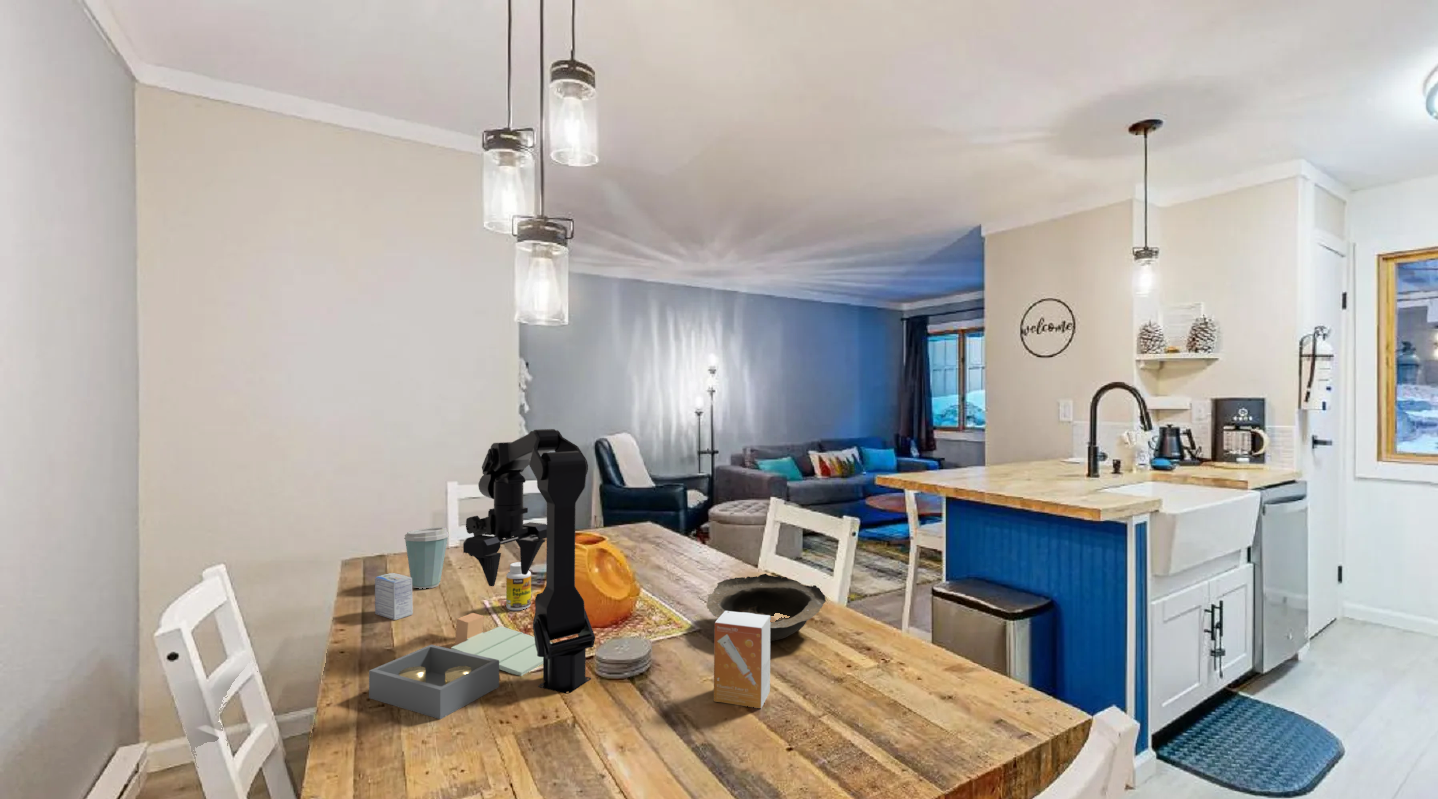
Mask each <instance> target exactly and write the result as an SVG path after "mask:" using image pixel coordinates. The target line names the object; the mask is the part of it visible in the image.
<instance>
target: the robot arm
mask: <svg viewBox="0 0 1438 799" xmlns="http://www.w3.org/2000/svg"><path fill="white" fill-rule="evenodd" d="M528 466H529V468H530V469H531V471H532V473H533V474H534V477H535V479H536V486H537V489H538V491H539V493H540V494H541V495H542V497H543V499H544V500H545V503H546V523H540V522H533V521H532V522H531V521H530V522H525V523H524V514H527V513H528V512H529V510H528V507H524V483H526V478H525V477H524V476H523V475H522V473H523V472H524V471H525V470H526V468H527V467H528ZM481 470H482V476H481V477H480V478H479V482H478V490H479V492H480V494H481V495H483V496H484V497H487V498H489V499H493V507H492V508H489V510H488V514H487V516H486V517H483V518H480V517H479V516H478V515H472V516H470V517H467V518H466V520H465V529H466V533H467V534H473V536H471V537H466V539H465V540H464V541H463V547H462V548H463V549H462V550H463V551H462V553H464V554H468V555H469V557H474V559H476V560H477V561H478V562H479V564H480V566H481V569H482V572H483V574H484V576H485V579H486V581H487V584H488V586H489V587H495V585H496V581H497V576H498V571H499V567H500V561H501V558H502V557H501V556H502V552H499V550H500V549H501V545H504V544H508V543H512V542H515V543H516V544H517V545H518V547H519V552H520V553H519V554H520V555H519V556H520V562H521V572H522V574H523V575H526V574H527V573H528V571H530V568H532V565H533V563H534V561H535V558H536V556H537V554H538V552H539V550H540V548H541V547H542V545H543V543H546V566H545V568H546V572H545V573H546V574H545V575H546V580H545V587H544V588H543V590H542V592H540V593H537V594H536V596H535V598H534V602H535V603H534V604H535V606H534V607H535V610H534V617H533V621H532V630H533V637H534V638H535V646H536V650H537V656H538V657H543V664H542V666H543V669H542V671H543V672H542V680H543V681H544V682H541V683H540V684H538V688H541V689H546V690H550V691H553V692H556V693H562V694H565V695H566V694H567V695H568V694H571V693H573V692H574V691H575V690H577V689H580V687H582V686H583V685H585V684H586V683H588V682H590V680H592V677H589V676H586V671H587V670H586V668H587V666H586V654H587V653H586V649H589V648H590V649H591V648H594V647H595V640H596V635H595V633H594V631H593V627H592V625H591V624H592V623H591V622H590V620H589V617H588V614H587V610H586V608H585V606H586V605H585V600H584V599H583V596H582V595H581V594H580V592H579V591H578V589H577V588H576V508H577V507H576V505H577V503H578V502H577V501H578V500H579V498H580V496H581V495H582V493H583V491H584V490H585V488H586V482H587V481H586V480H587V475H588V470H589V464H588V460H587V458H586V456H584V454H583V452H582V450H581V448H580V447H579V446H578V445H577V444H575V443H573V442H571V440H568V439H567V438H565V437H564V436H563V435H562V434H561V432H560V431H559V430H558V429H557V430H556V429H555V428H548V429H546V428H544V429H543V428H542V429H541V428H540V429H533V430H530V432H529V433H528V434H526V435H523V436H521V437H520V438H518V439H516V440H513V441H507V442H504V441H503V442H493V443H491V446H490V448H488V450H487V452H486V454H485V458H484V460H483V462H482V466H481ZM574 635H577V636H576V637H571V636H574ZM566 637H567V639H563V640H560V641H556V642H555V641H554V640H558V639H562V638H566ZM568 637H571V638H568ZM552 641H554V642H552ZM550 642H552V643H550Z"/></svg>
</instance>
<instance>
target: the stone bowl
mask: <svg viewBox="0 0 1438 799" xmlns="http://www.w3.org/2000/svg"><path fill="white" fill-rule="evenodd" d="M713 590H714V592H711V593H709V594H708V596H707V603H706V608H707V610H708V611H709V612H710V613H711V615H712V616H713V617H716V618H719V617H720V616H721V615H722V614H723V613H724V612H725V611H732V612H745V613H753V614H760V615H770V616H774V614H775V613H780V614H783V615H787V616H790V617H789V618H785V617H784V618H782V617H781V618H779V619H778V620H776V621H775V622H770V642H772V641H778V640H782V639H783V640H784V639H785V638H788V637H789V636H792V635H793V634H795V633H796V632H798V631H799V630H801V629H802V628H804V627H805V625H806V624H807V622H808V621H809V620H810V619H812V618H813V617H815V616H816V615H817V614H818V613H819V612H820V611H821V609H822V608H823V607H824V604H825V603H826V602H827V601H826V595H825V594H824V593H823V592H822V589H821V588H820V587H818V586H817V585H803V584H801V582H800V581H798V580H796V579H795V580H794V579H791V578H788V577H787V576H783V577H782V576H781V575H776V576H775V575H769V574H767V573H762V574H759V575H758V576H756V575H755V576H748V575H747V576H746V577H744V576H742V577H734V578H729V579H727V578H726V579H724V580H722V581H719V582H717V586H716V587H715V588H714V589H713Z"/></svg>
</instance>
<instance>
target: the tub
mask: <svg viewBox="0 0 1438 799" xmlns="http://www.w3.org/2000/svg"><path fill="white" fill-rule="evenodd" d="M415 666H421V667H424V668H426V683H425V682H422V681H418V680H414V679H410V678H407V677H403V676H399V672H400V671H402V670H403V669H406V668H409V667H415ZM458 666H468V667H470V668H471V672H469V673H467V674H465V675H463V676H461V677H459V678H457V679H455V680H453V681H451V682H449V683H447V684H445V672H446V671H447V670H448V669H450V668H453V667H458ZM499 687H500V669H499V660H496V659H492V658H487V657H483V656H479V655H474V654H470V653H466V652H461V651H457V650H453V649H451V648H448V647H444V646H439V645H434V644H429V645H427V646H424V647H422V648H419V649H417V650H415V651H413V652H410V653H407V654H405V655H403V656H400V657H398V658H396V659H394V660H391V661H389V662H386V663H384V664H382V665H379V666H377V667H374V668H372V669H369V670H368V699H370V700H374V701H376V702H381V703H383V704H384V703H385V704H387V705H390V706H394V707H397V708H401V709H404V710H408V711H411V712H414V713H418V714H421V715H424V716H428V717H431V718H435V719H438V720H442V719H444V718H446V717H447V716H449V715H451V714H452V713H455V712H456V711H459V710H460V709H461V708H462V709H463V707H465V706H467V705H469V704H472V703H473V702H474V701H477V700H478V699H480V698H481V697H483V696H486V695H487V694H489V693H491V692H492V691H494V690H496V689H498V688H499Z"/></svg>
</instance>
